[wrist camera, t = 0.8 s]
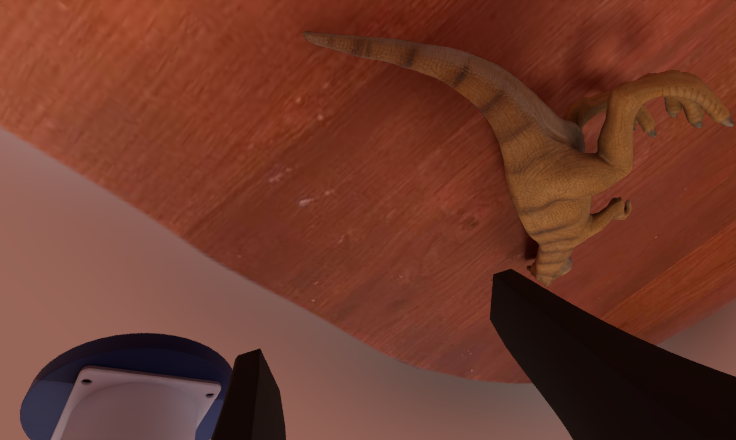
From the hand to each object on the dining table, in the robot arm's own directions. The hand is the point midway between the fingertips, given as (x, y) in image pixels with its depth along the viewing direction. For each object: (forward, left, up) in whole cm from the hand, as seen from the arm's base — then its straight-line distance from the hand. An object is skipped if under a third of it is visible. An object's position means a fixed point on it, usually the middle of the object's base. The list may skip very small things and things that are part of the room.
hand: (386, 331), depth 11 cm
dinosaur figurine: (+7, -8, -10) cm, 15 cm away
